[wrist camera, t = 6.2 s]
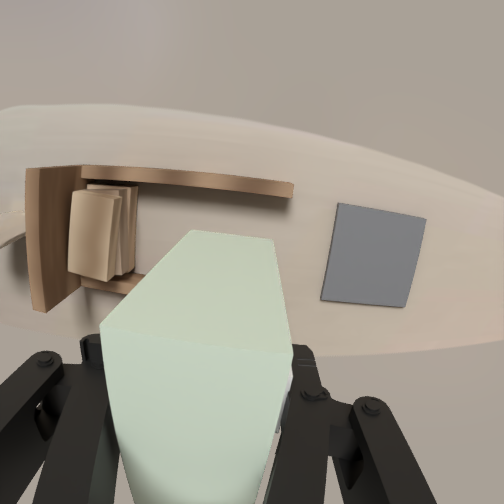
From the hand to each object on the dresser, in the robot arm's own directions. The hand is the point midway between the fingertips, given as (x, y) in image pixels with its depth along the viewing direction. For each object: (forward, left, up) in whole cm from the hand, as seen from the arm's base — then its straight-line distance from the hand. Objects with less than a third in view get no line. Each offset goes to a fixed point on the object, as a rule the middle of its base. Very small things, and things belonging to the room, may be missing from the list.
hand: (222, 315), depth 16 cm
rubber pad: (+11, +9, -17) cm, 22 cm away
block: (0, 0, -1) cm, 1 cm away
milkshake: (-21, -17, -17) cm, 32 cm away
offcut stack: (-11, -8, -17) cm, 21 cm away
